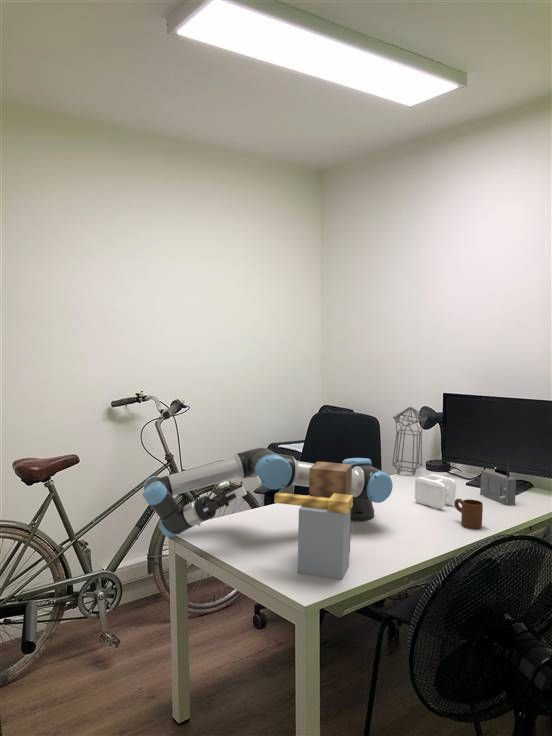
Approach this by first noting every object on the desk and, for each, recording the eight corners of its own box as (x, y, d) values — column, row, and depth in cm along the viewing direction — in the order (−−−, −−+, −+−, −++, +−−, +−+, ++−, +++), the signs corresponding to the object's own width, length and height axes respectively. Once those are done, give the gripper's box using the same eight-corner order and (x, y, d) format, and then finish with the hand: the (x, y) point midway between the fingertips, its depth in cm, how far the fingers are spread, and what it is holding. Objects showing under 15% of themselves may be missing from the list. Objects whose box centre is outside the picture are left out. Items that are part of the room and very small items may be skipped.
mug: (447, 521, 228) (448, 498, 228) (460, 518, 233) (461, 495, 232) (473, 530, 218) (474, 506, 218) (486, 527, 223) (487, 503, 222)
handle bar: (271, 505, 182) (271, 494, 181) (279, 497, 189) (279, 487, 189) (347, 513, 174) (347, 502, 174) (352, 506, 182) (352, 495, 181)
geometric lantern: (395, 468, 313) (399, 404, 311) (425, 472, 306) (429, 407, 304) (387, 474, 299) (391, 407, 297) (418, 479, 292) (422, 410, 290)
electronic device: (515, 504, 252) (517, 459, 250) (503, 506, 249) (505, 460, 247) (486, 493, 268) (487, 451, 266) (474, 495, 265) (476, 452, 263)
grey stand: (297, 572, 179) (298, 509, 178) (306, 560, 189) (307, 500, 187) (342, 579, 175) (343, 514, 173) (348, 566, 184) (350, 504, 183)
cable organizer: (457, 507, 247) (458, 480, 246) (441, 511, 241) (442, 484, 240) (428, 498, 259) (429, 472, 258) (413, 502, 253) (413, 476, 252)
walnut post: (307, 558, 191) (309, 468, 188) (315, 547, 200) (317, 461, 198) (343, 563, 187) (346, 471, 185) (349, 551, 196) (352, 464, 194)
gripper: (220, 509, 206) (270, 485, 199) (188, 533, 182) (243, 506, 175) (211, 490, 206) (260, 465, 200) (177, 511, 183) (232, 484, 176)
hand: (252, 484), depth 188 cm, fingers open, 13 cm apart
